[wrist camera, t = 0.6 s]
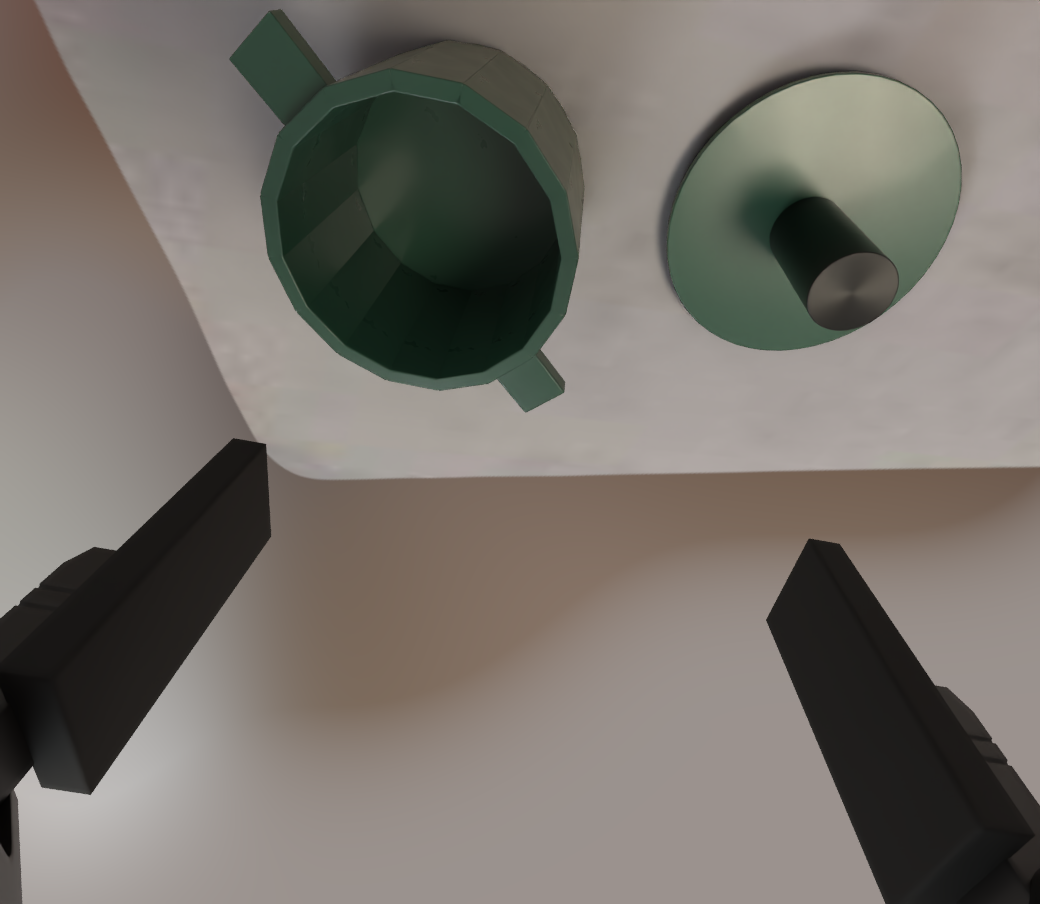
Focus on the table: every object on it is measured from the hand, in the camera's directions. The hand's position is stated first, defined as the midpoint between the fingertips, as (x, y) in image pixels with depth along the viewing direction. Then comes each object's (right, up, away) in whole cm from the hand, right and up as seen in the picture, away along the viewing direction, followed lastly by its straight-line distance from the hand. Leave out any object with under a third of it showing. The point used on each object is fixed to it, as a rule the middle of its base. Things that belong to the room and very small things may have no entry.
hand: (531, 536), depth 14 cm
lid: (+15, +14, +17) cm, 26 cm away
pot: (-3, +17, +18) cm, 25 cm away
